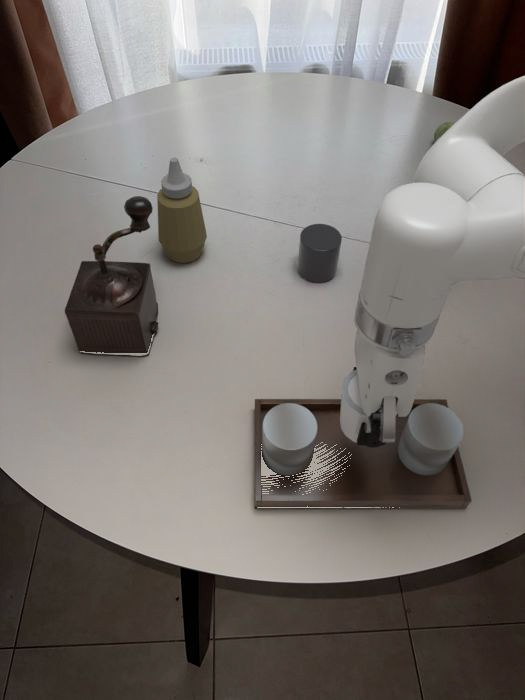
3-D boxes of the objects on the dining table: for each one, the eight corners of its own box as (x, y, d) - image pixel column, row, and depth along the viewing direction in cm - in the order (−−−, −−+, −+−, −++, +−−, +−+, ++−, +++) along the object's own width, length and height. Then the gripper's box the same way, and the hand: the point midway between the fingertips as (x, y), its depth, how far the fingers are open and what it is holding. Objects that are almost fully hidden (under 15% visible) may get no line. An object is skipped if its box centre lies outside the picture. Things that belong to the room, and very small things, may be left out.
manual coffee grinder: (153, 358, 85) (134, 267, 71) (78, 354, 85) (44, 263, 71) (168, 283, 95) (154, 190, 81) (100, 280, 95) (75, 187, 81)
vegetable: (431, 138, 123) (437, 116, 119) (456, 141, 123) (463, 119, 119) (431, 176, 114) (438, 154, 111) (458, 179, 114) (465, 157, 110)
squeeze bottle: (210, 237, 102) (204, 145, 88) (205, 269, 97) (198, 177, 83) (164, 235, 102) (150, 143, 88) (157, 267, 97) (142, 174, 83)
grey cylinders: (444, 256, 100) (456, 224, 94) (453, 283, 96) (465, 251, 90) (296, 255, 99) (299, 223, 94) (298, 283, 95) (301, 250, 90)
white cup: (365, 391, 72) (374, 356, 67) (404, 429, 69) (417, 396, 63) (323, 418, 70) (329, 384, 64) (361, 459, 66) (371, 428, 61)
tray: (442, 408, 80) (457, 377, 74) (466, 508, 71) (485, 481, 65) (254, 408, 80) (255, 376, 74) (254, 509, 71) (255, 481, 65)
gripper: (457, 388, 49) (410, 483, 62) (420, 249, 59) (387, 356, 73) (368, 388, 48) (341, 483, 62) (347, 248, 59) (328, 356, 73)
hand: (366, 414), depth 68 cm, fingers closed on white cup, 6 cm apart
